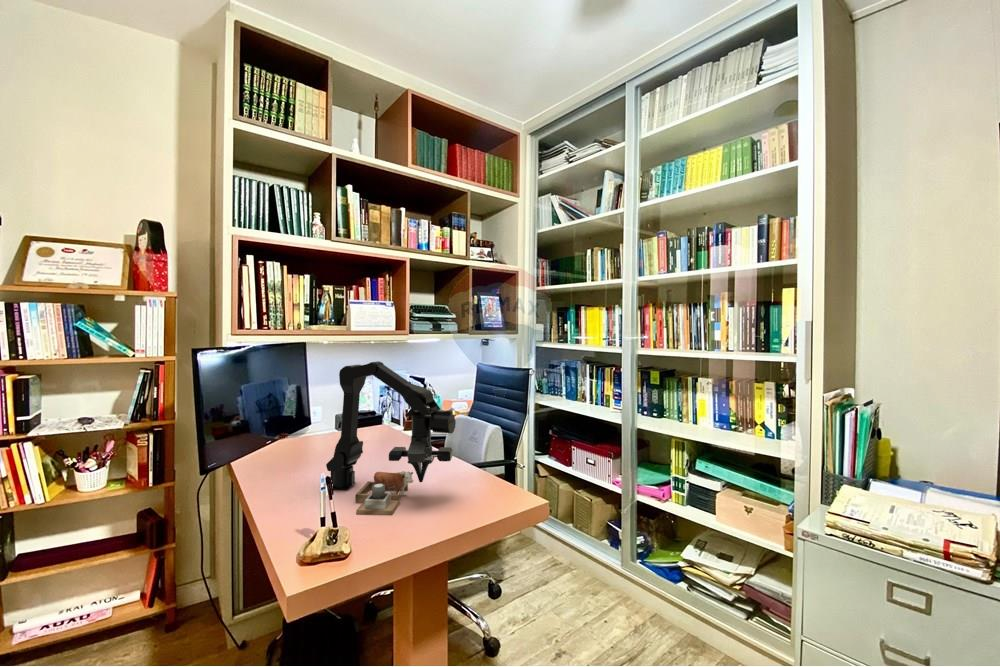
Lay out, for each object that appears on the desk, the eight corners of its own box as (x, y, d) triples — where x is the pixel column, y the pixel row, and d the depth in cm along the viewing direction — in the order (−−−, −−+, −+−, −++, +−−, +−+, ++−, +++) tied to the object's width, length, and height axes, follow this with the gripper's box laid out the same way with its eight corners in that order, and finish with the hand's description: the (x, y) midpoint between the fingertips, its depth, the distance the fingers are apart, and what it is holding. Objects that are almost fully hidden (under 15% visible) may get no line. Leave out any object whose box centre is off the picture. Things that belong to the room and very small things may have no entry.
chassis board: (345, 514, 113) (345, 500, 113) (367, 489, 131) (367, 477, 131) (392, 515, 113) (392, 501, 113) (407, 490, 131) (407, 478, 131)
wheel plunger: (370, 498, 115) (370, 487, 115) (374, 493, 119) (374, 482, 119) (382, 499, 115) (382, 487, 115) (386, 493, 118) (386, 483, 118)
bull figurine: (410, 501, 122) (411, 474, 122) (370, 496, 126) (371, 469, 126) (417, 496, 127) (417, 469, 127) (378, 491, 130) (379, 465, 130)
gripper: (383, 437, 118) (382, 491, 118) (447, 438, 117) (447, 492, 117) (393, 428, 129) (393, 477, 129) (452, 428, 128) (452, 478, 128)
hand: (421, 481), depth 125 cm, fingers closed
